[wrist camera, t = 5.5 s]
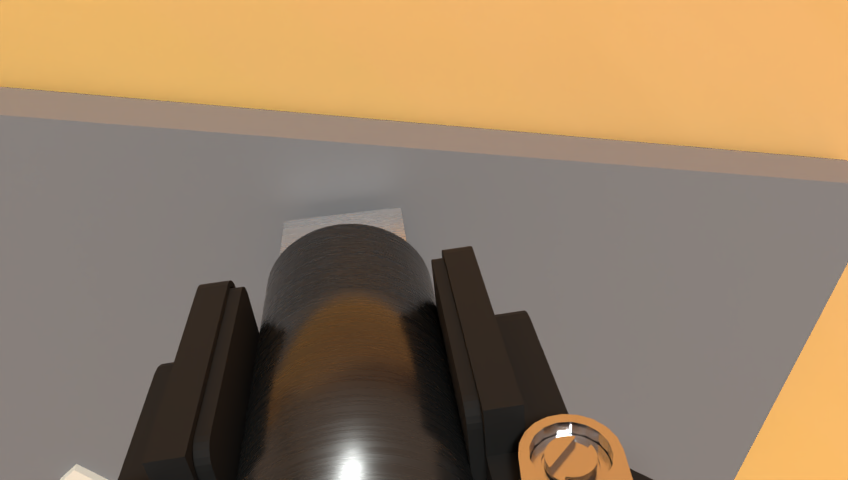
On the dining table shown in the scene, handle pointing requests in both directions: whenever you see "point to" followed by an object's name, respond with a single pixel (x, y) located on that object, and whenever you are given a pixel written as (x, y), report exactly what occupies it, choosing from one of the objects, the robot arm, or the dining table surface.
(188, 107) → the board
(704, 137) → the dining table surface
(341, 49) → the dining table surface
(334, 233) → the swing lever
